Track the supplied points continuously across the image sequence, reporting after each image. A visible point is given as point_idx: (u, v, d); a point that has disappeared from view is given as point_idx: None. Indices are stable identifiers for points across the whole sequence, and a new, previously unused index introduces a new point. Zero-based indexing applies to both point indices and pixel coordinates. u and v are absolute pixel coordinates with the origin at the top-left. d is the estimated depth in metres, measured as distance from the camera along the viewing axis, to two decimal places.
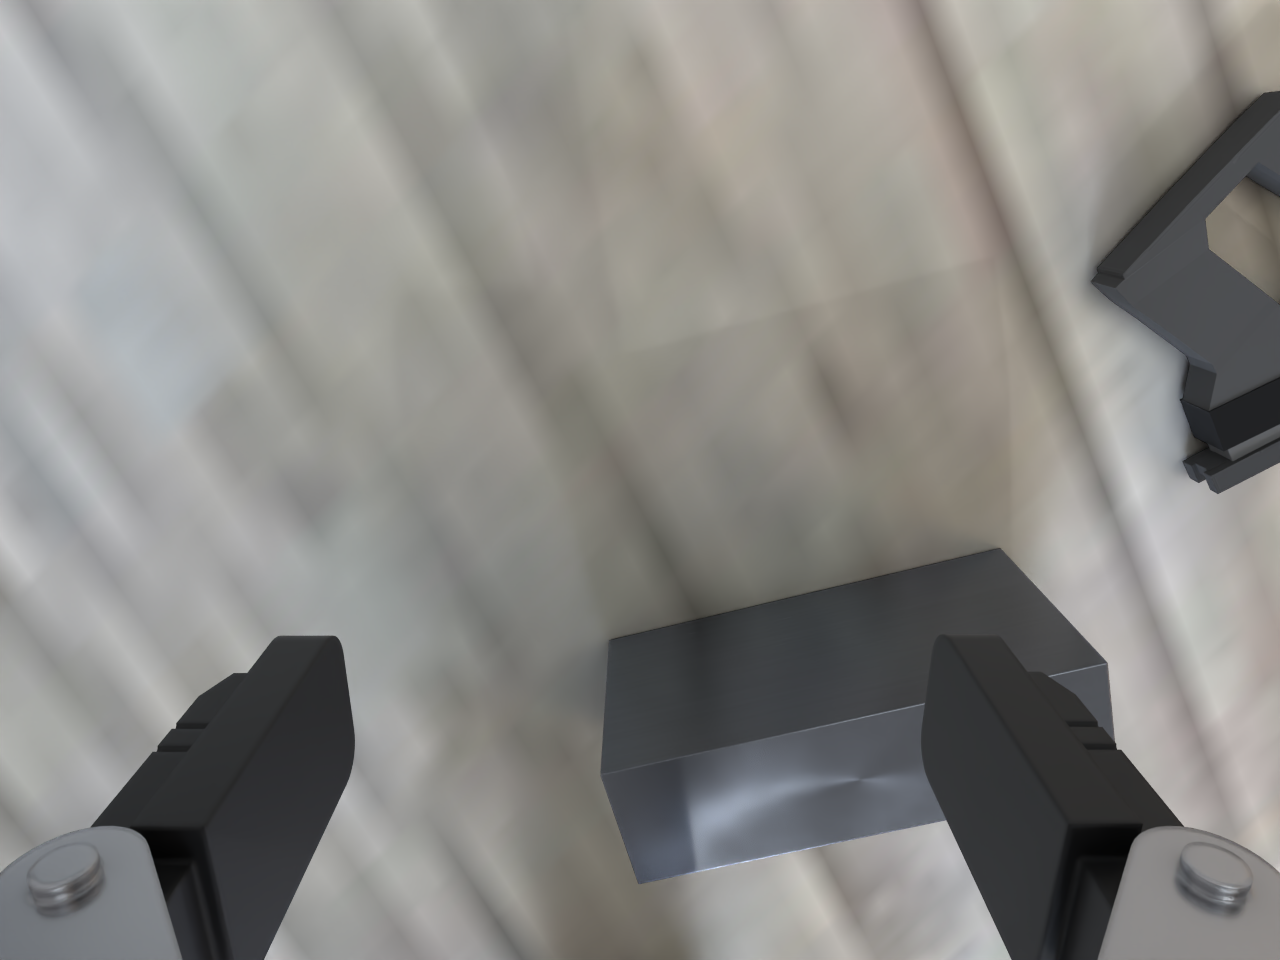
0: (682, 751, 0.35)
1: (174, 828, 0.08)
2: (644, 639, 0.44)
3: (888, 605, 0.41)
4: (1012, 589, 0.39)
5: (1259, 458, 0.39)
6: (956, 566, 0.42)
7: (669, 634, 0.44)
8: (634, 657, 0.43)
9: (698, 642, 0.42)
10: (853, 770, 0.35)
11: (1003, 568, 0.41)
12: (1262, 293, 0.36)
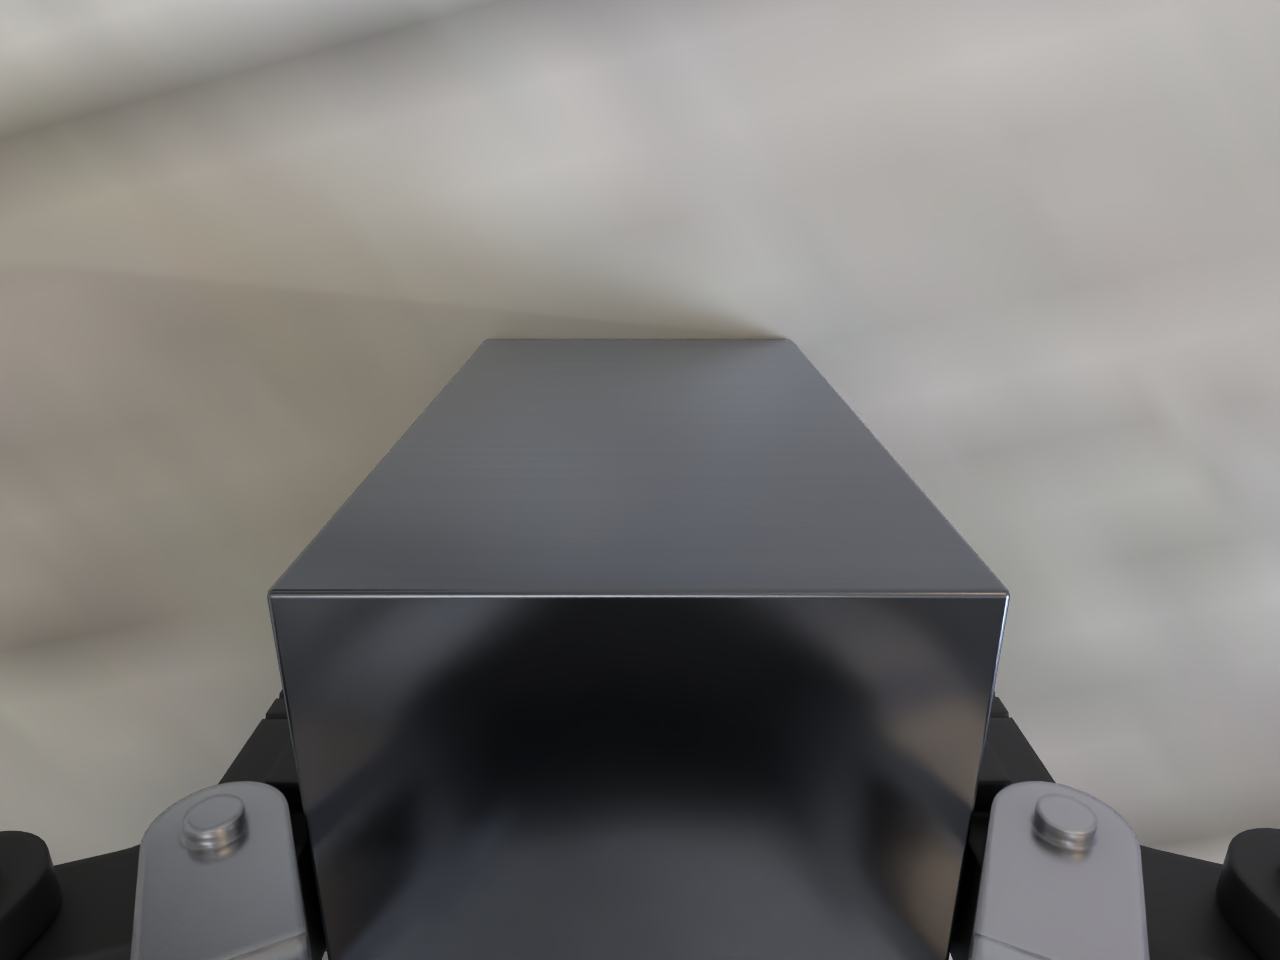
0: None
1: None
2: None
3: None
4: None
5: None
6: None
7: None
8: None
9: None
10: None
11: None
12: None
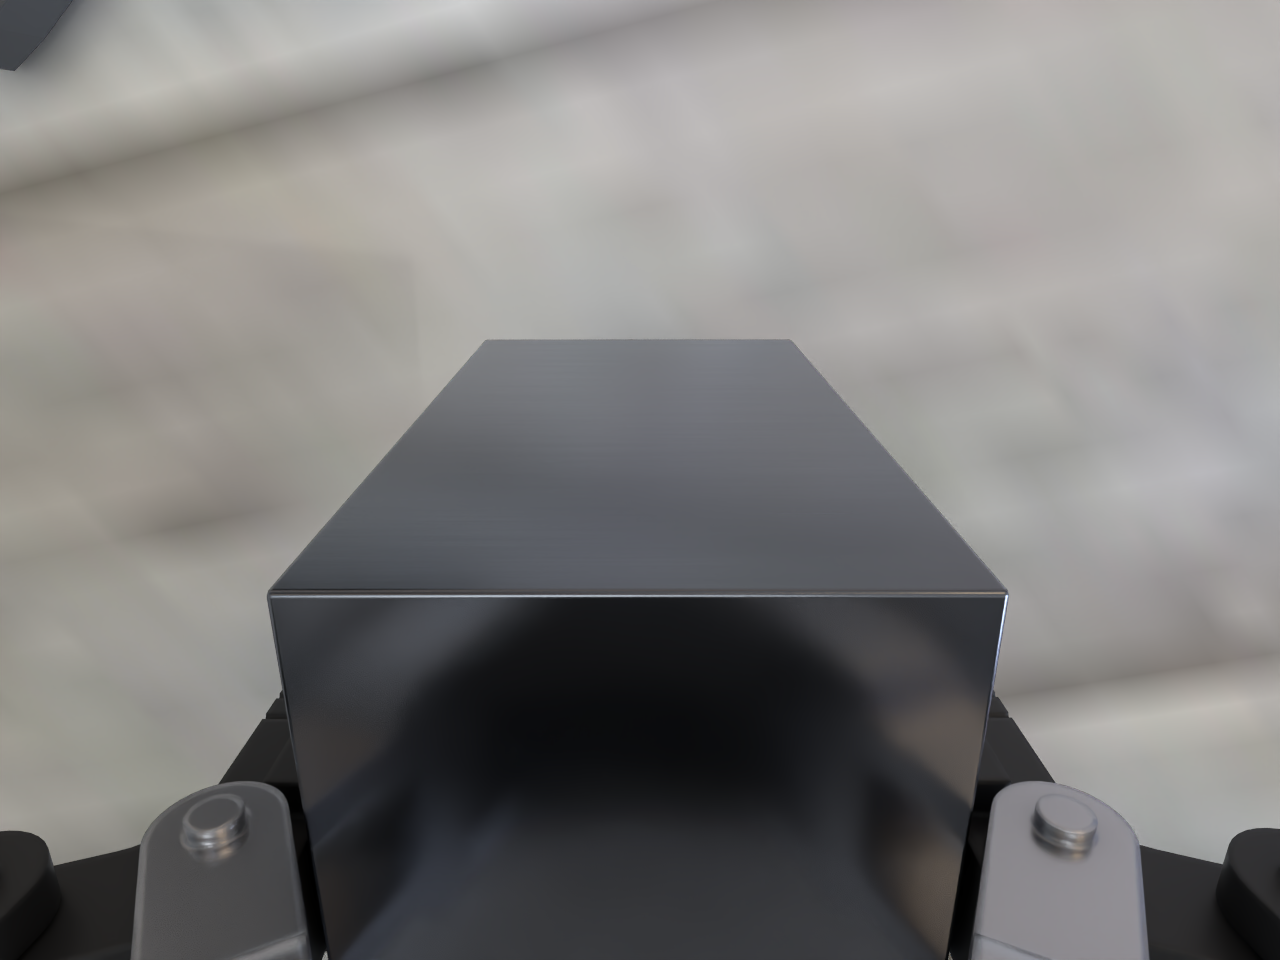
0: None
1: None
2: None
3: None
4: None
5: None
6: None
7: None
8: None
9: None
10: None
11: None
12: None
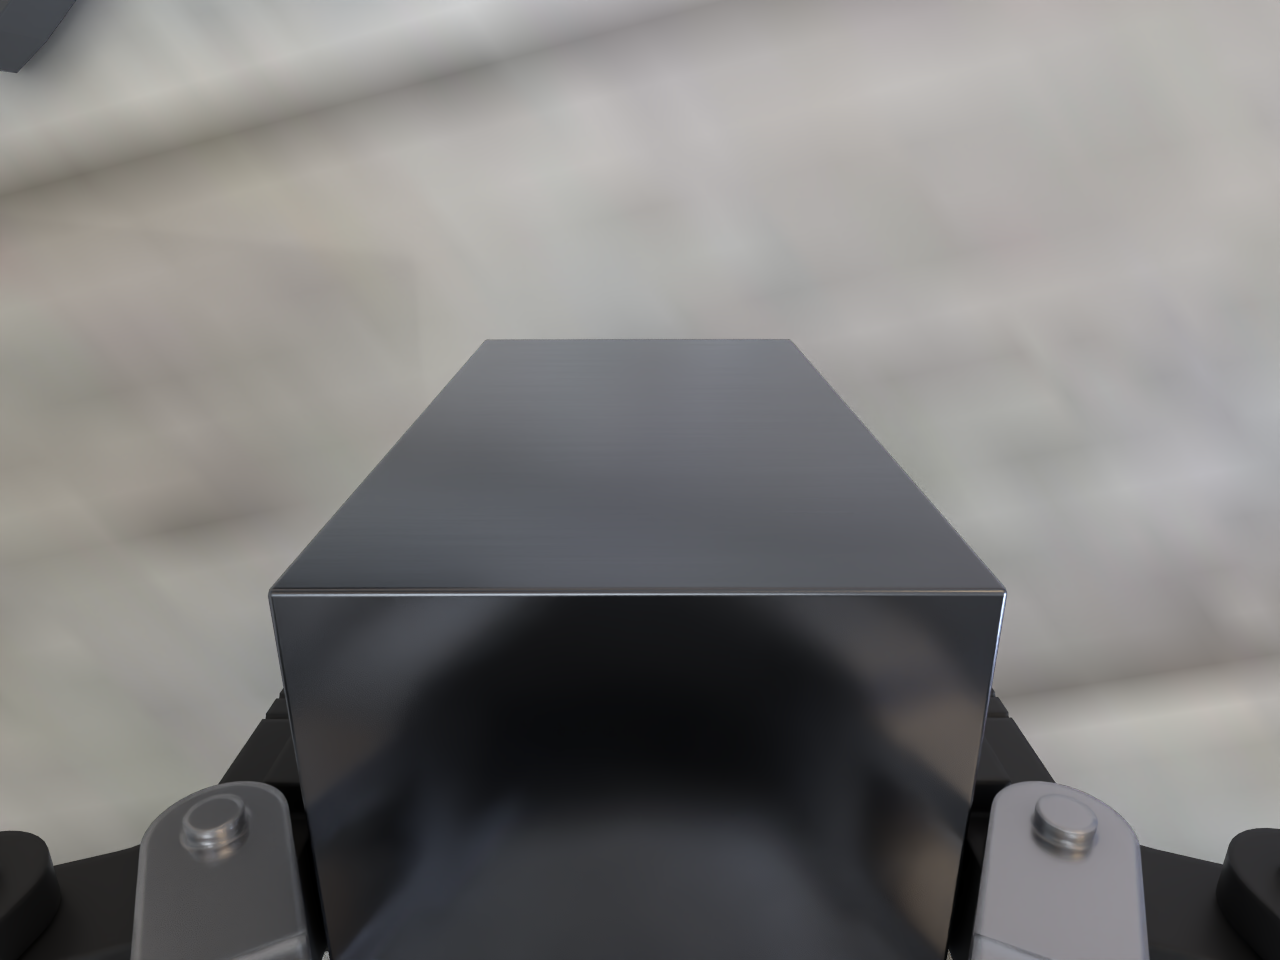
0: None
1: None
2: None
3: None
4: None
5: None
6: None
7: None
8: None
9: None
10: None
11: None
12: None
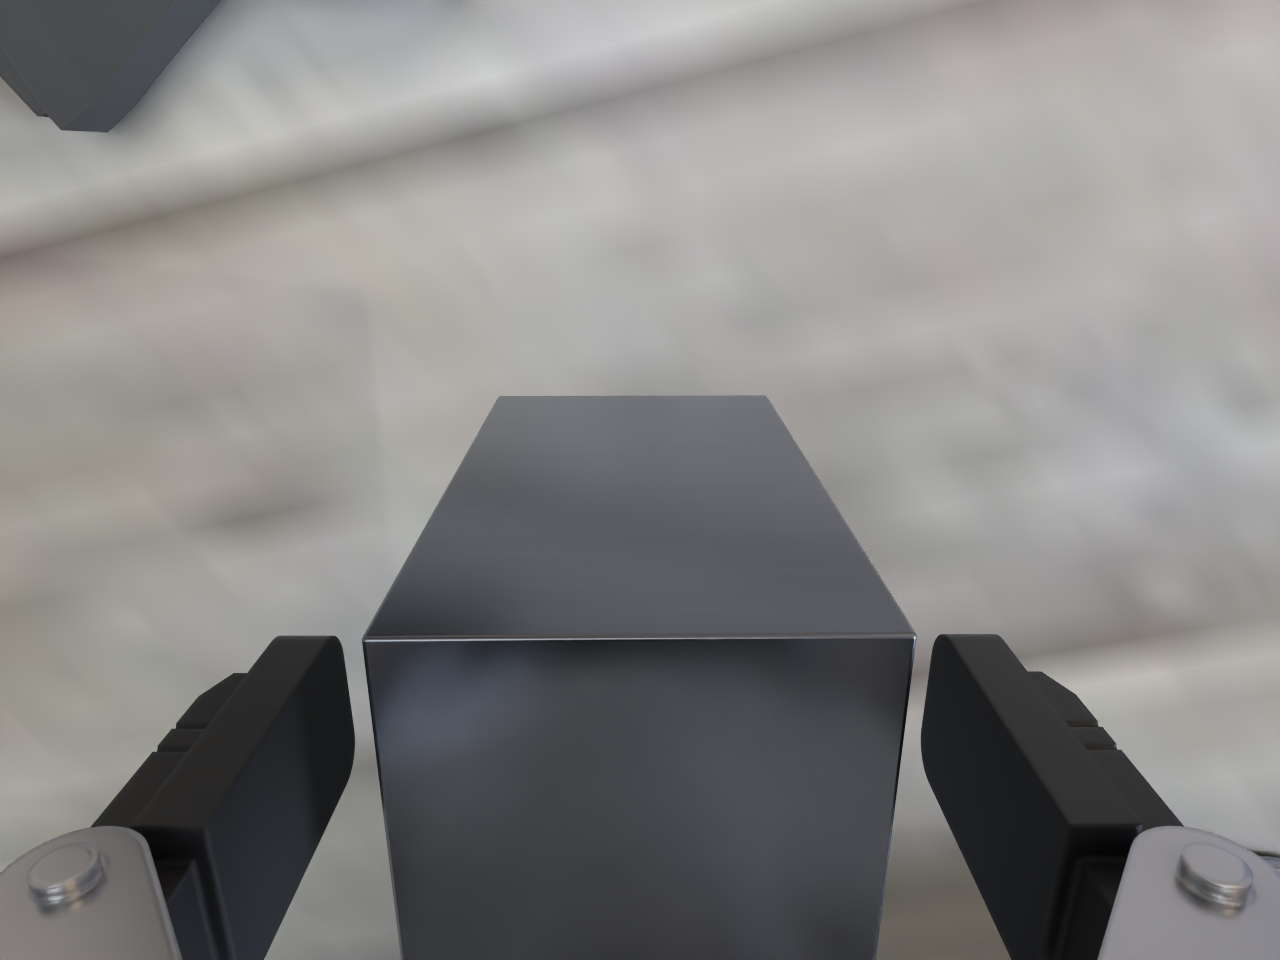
0: None
1: (174, 828, 0.08)
2: None
3: None
4: None
5: None
6: None
7: None
8: None
9: None
10: None
11: None
12: None
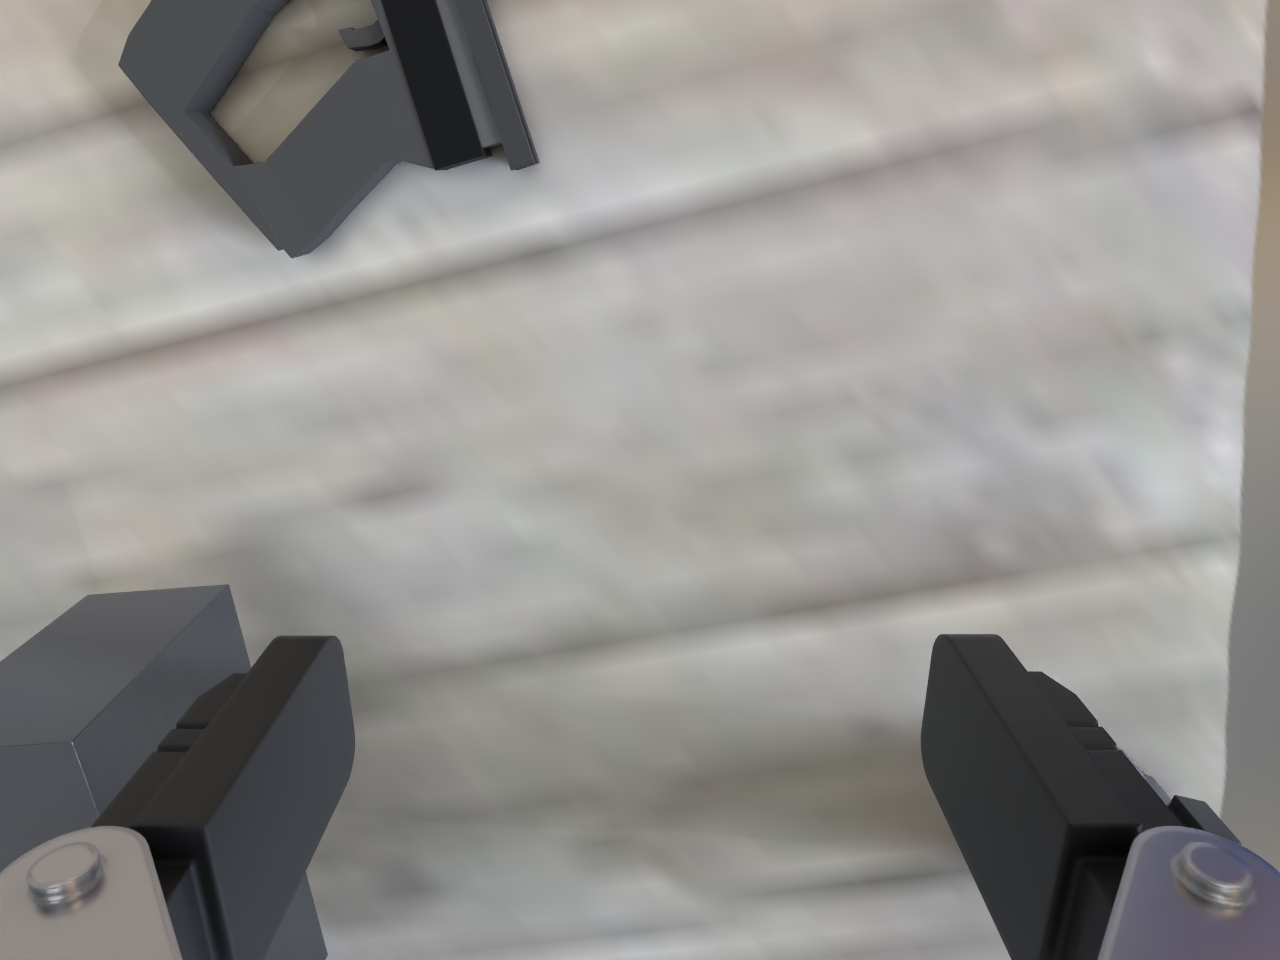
0: None
1: (174, 828, 0.08)
2: None
3: None
4: None
5: (500, 113, 0.35)
6: None
7: None
8: None
9: None
10: None
11: None
12: (317, 106, 0.35)
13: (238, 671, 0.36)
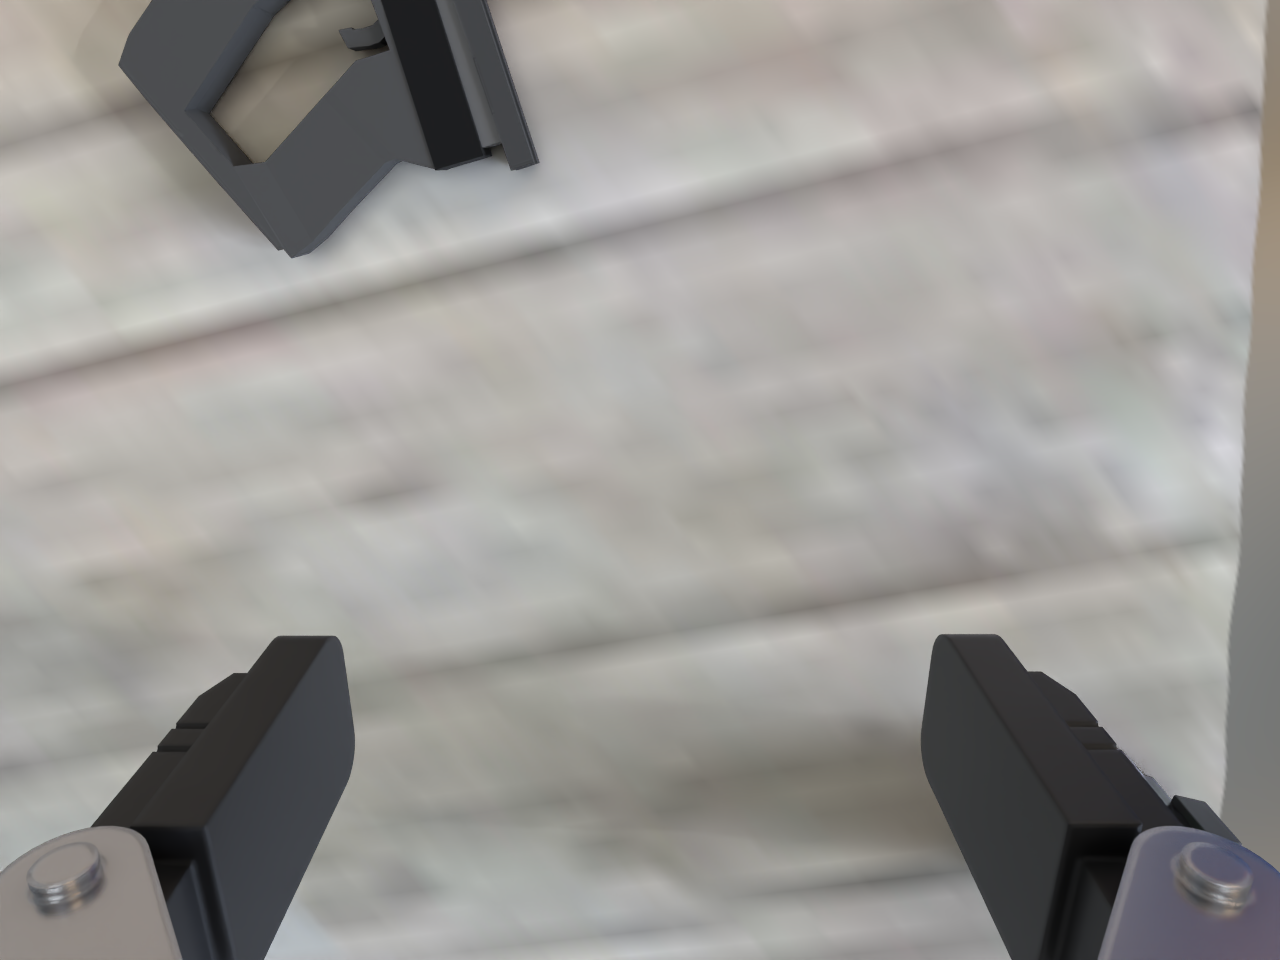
0: None
1: (174, 828, 0.08)
2: None
3: None
4: None
5: (500, 113, 0.35)
6: None
7: None
8: None
9: None
10: None
11: None
12: (317, 106, 0.35)
13: None
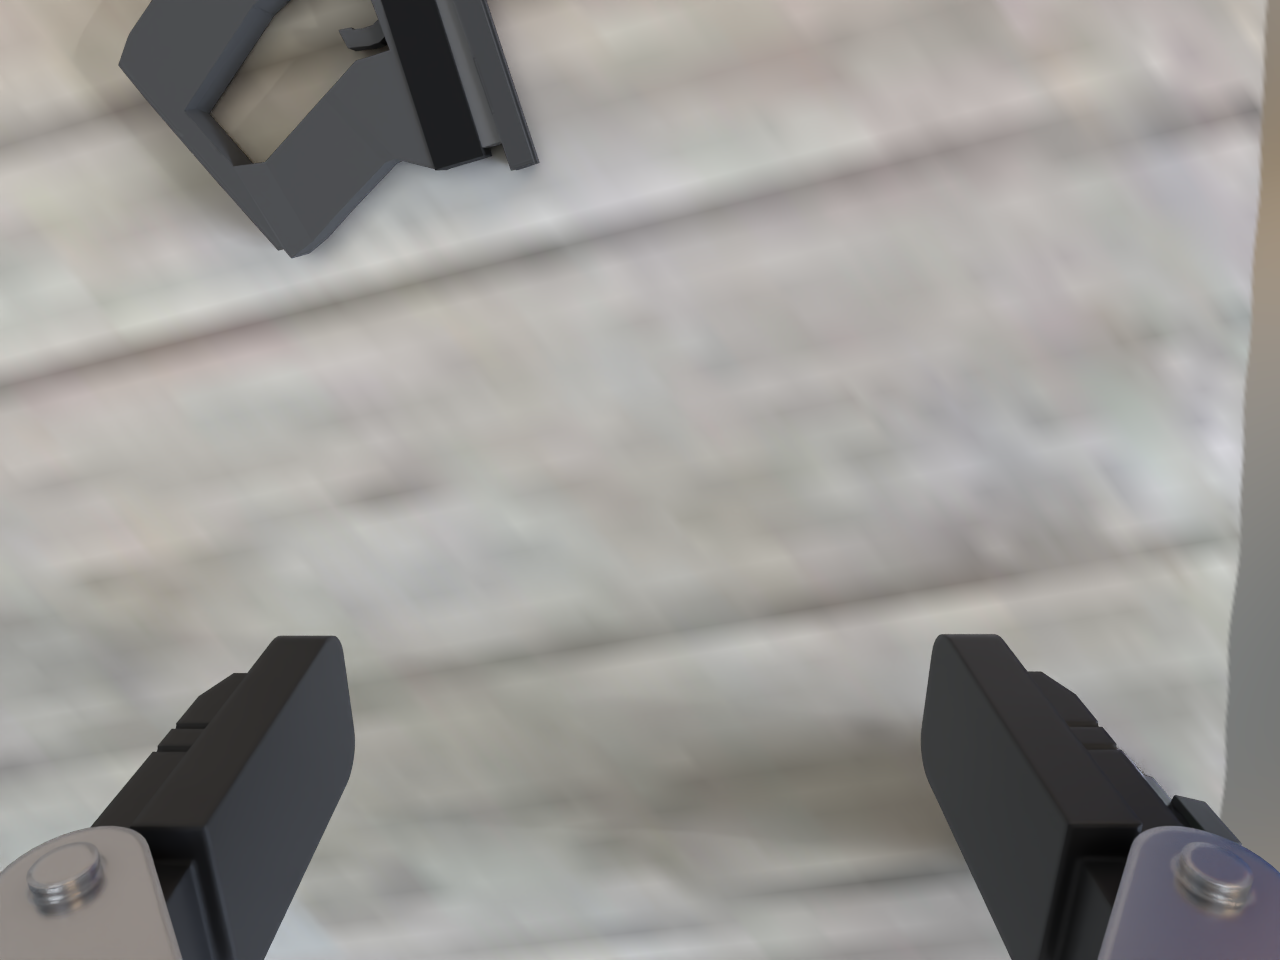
0: None
1: (174, 828, 0.08)
2: None
3: None
4: None
5: (500, 113, 0.35)
6: None
7: None
8: None
9: None
10: None
11: None
12: (317, 106, 0.35)
13: None
